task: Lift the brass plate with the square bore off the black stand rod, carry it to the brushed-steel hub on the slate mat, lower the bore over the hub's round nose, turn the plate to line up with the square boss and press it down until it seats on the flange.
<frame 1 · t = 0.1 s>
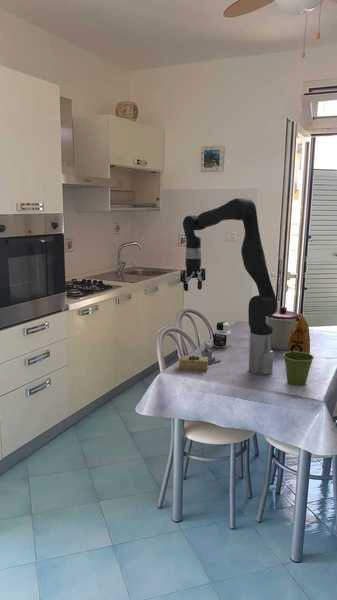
hand: (192, 290, 227), 29 cm above the table, tool pointing down, fingers open, 8 cm apart
hub: (206, 361, 211), on the table
medicine bottle: (221, 346, 236), on the table
brass plate: (193, 368, 202), on the table
coffee package: (297, 363, 208), on the table
stand rod: (193, 368, 202), on the table
canister: (281, 347, 233), on the table
plant pot: (296, 383, 185), on the table
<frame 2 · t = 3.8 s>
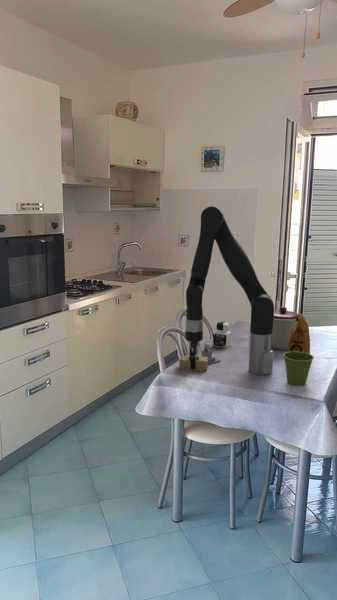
hand: (193, 366, 201), 1 cm above the table, tool pointing down, fingers closed on brass plate, 6 cm apart
brass plate: (193, 368, 202), on the table, touching gripper
everything else where it was.
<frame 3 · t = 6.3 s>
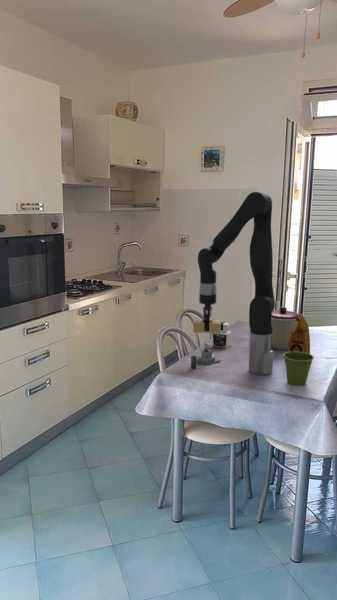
hand: (207, 329, 208), 15 cm above the table, tool pointing down, fingers closed on brass plate, 6 cm apart
brass plate: (207, 331, 208), point 14 cm above the table, touching gripper
everything else where it was.
when the fingers open (3 cm above the table, at t = 9.2 s): brass plate stays where it is, resting on hub.
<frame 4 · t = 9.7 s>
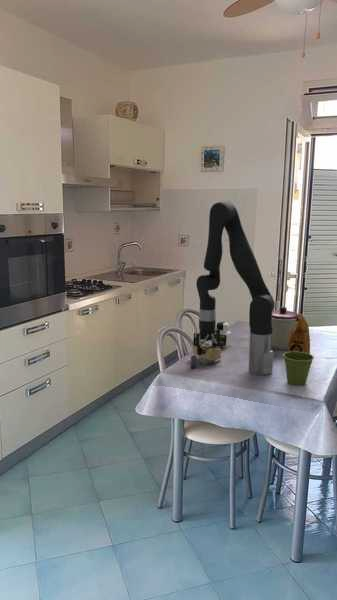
hand: (206, 353, 210), 4 cm above the table, tool pointing down, fingers open, 8 cm apart
brass plate: (206, 356, 211), point 2 cm above the table, touching hub
everything else where it was.
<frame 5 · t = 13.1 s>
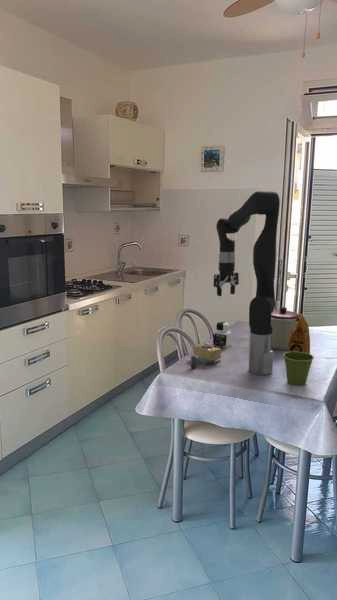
hand: (225, 294, 221), 28 cm above the table, tool pointing down, fingers open, 8 cm apart
nothing on the table moved.
at the end: brass plate 0.1 cm off-centre on the hub, point 2.2 cm above the hub's base; brass plate tilted 0°; the gripper is holding nothing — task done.
